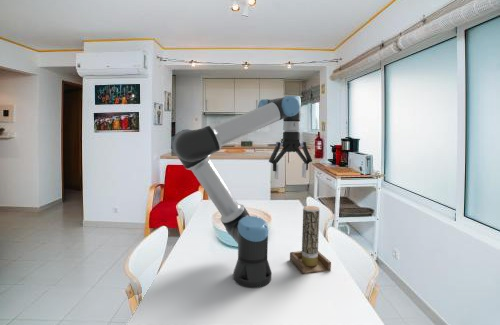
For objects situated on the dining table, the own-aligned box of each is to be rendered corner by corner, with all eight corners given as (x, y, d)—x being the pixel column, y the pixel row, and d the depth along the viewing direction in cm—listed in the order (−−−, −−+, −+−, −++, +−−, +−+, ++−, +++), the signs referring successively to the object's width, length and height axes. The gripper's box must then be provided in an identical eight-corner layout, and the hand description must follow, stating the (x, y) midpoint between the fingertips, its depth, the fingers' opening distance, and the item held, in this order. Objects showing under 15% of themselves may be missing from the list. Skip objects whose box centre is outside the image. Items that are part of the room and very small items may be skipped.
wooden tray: (302, 274, 116) (302, 265, 116) (289, 259, 128) (290, 252, 128) (330, 270, 119) (331, 262, 119) (315, 256, 132) (316, 249, 131)
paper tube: (317, 268, 120) (319, 210, 117) (301, 266, 121) (303, 209, 118) (317, 260, 126) (319, 206, 123) (301, 259, 128) (303, 205, 125)
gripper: (267, 131, 120) (266, 180, 123) (320, 131, 127) (318, 178, 129) (262, 130, 127) (261, 177, 130) (312, 131, 134) (311, 175, 136)
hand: (290, 177), depth 130 cm, fingers open, 13 cm apart
